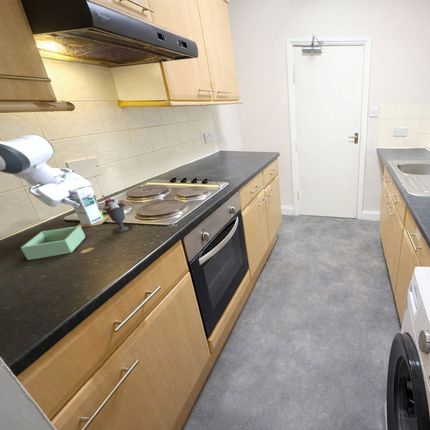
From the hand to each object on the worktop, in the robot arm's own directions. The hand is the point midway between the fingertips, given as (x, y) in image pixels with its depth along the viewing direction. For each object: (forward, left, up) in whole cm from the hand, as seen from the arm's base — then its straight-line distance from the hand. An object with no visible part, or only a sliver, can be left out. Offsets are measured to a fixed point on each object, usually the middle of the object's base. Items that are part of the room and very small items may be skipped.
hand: (86, 202), depth 106 cm
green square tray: (-4, -21, -9) cm, 23 cm away
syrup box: (-1, 0, -9) cm, 9 cm away
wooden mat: (-1, 0, -9) cm, 9 cm away
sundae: (+13, -13, -9) cm, 21 cm away
